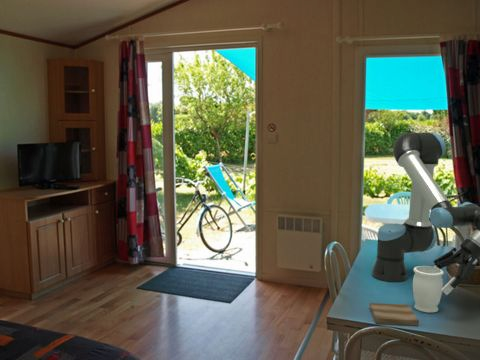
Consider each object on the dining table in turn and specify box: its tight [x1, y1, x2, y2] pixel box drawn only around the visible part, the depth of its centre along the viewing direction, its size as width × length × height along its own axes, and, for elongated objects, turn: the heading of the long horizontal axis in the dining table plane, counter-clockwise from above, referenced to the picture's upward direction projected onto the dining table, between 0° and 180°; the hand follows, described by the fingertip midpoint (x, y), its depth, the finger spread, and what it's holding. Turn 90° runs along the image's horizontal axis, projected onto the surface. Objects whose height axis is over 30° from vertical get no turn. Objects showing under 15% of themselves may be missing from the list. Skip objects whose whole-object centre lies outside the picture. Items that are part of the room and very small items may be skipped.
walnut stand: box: [369, 302, 420, 327], centre depth 167 cm, size 14×14×2 cm
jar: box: [412, 265, 444, 314], centre depth 173 cm, size 11×10×15 cm
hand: (434, 285), depth 172 cm, fingers open, 13 cm apart
